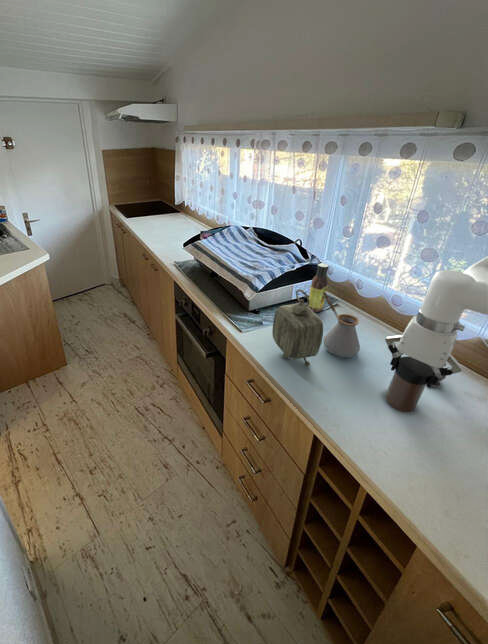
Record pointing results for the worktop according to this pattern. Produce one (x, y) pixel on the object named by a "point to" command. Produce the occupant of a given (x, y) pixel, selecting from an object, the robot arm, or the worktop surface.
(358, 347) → the coffee pot
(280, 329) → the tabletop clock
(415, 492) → the worktop surface
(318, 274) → the sauce bottle
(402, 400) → the jar
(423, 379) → the jar lid
